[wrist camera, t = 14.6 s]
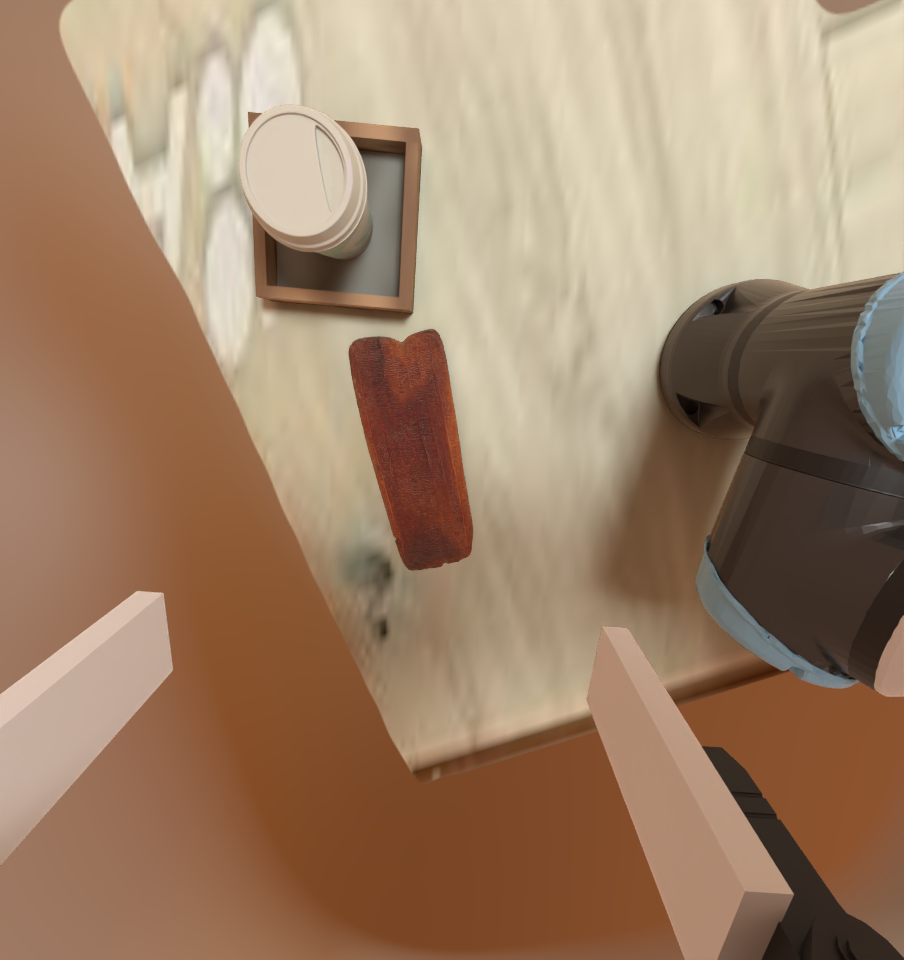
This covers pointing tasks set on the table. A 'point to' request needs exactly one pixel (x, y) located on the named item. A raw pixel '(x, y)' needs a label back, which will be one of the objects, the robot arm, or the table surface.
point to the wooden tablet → (414, 445)
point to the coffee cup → (306, 182)
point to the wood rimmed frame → (392, 249)
